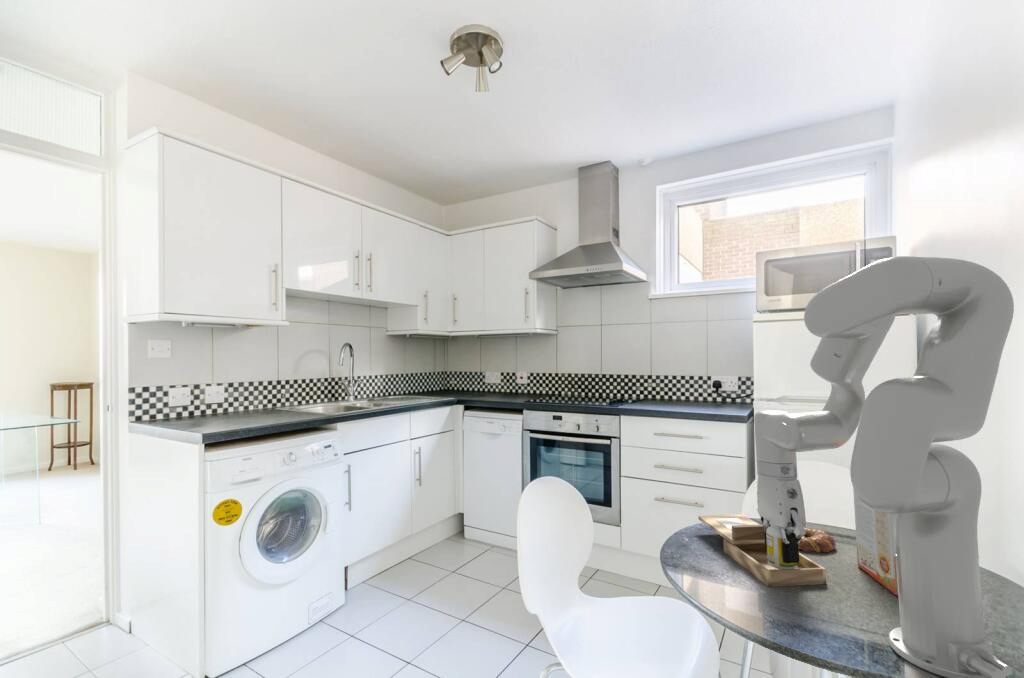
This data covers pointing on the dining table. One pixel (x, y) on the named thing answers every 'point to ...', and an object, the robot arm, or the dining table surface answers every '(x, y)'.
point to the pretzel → (816, 541)
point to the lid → (735, 528)
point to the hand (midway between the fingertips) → (781, 555)
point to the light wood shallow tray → (758, 565)
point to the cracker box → (876, 544)
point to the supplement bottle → (776, 547)
